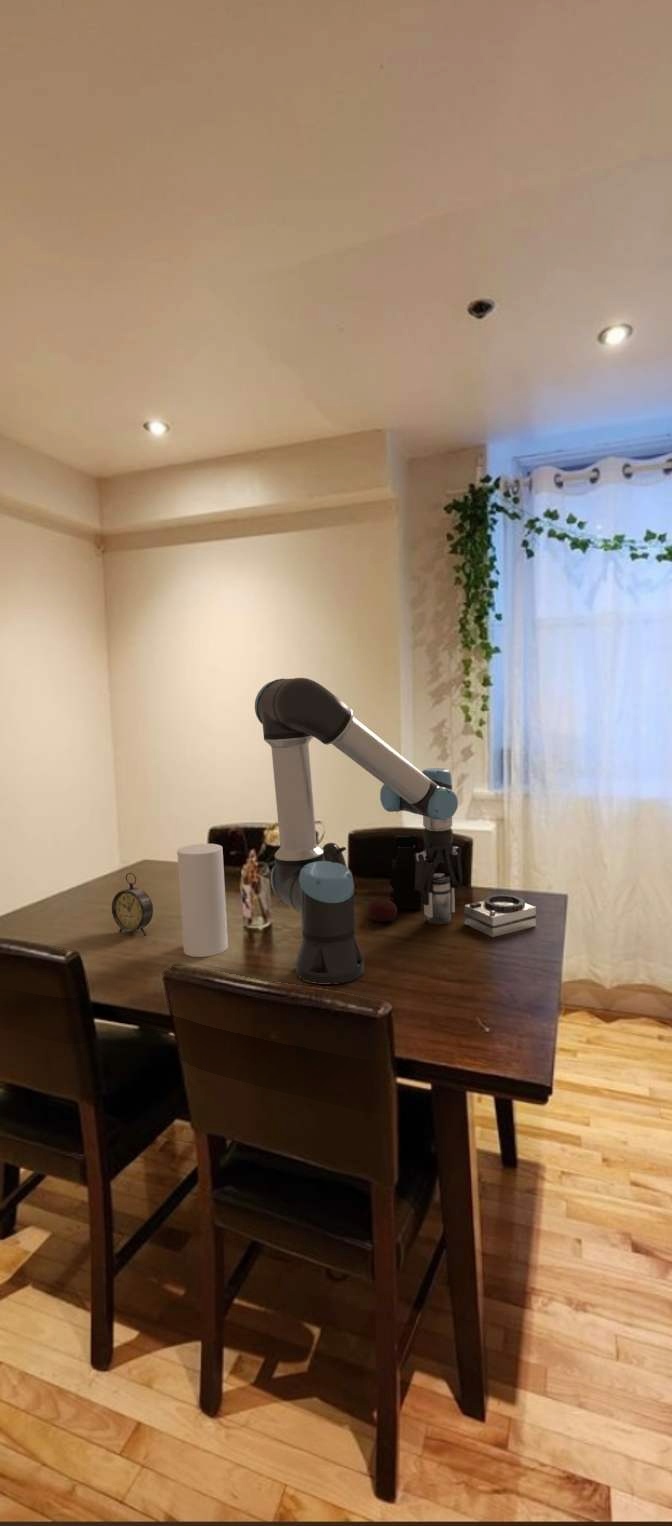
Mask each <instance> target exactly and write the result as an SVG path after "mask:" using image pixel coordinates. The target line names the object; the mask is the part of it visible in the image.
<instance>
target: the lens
mask: <svg viewBox="0 0 672 1526" xmlns="http://www.w3.org/2000/svg"><path fill="white" fill-rule="evenodd" d="M450 882H451V877H450V875H447V874H445V873H440V872H439V873H437V872H436V873H435V872H434V875H433V879H432V883H431V887H430V891H429V892H431V893H432V907H433V917H431V918H430V917H428V916H427V923H430V924H432V925H438V926H440V925H441V926H442V925H447V924H450V923H451V921H452V918H451V917H452V916H451V915H452V912H451V899H450V892H451V888H450Z"/></svg>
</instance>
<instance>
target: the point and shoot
mask: <svg viewBox="0 0 672 1526" xmlns="http://www.w3.org/2000/svg"><path fill="white" fill-rule="evenodd" d="M463 909H464V925H466V926H468V927H471V928H472V929H475V930H477V931H478V932H480V933H484V934H485V935H486V936H487V935H488V936H490V937H492V938H495V937H498V936H502V935H506V934H511V933H514V932H518V931H522V930H527V929H530V928H534V927H536V926H537V920H536V919H537V917H536V916H537V913H536V911H537V910H536V909H537V907H536V906H534V905H531V904H528V903H526V901H525V900H524V898H522V897H520V896H516V895H511V894H494V895H493V894H492V895H488V896H486V897H485V898H484V899H483V900H482V901H476V902H472V903H468V904H465V905H464V908H463Z"/></svg>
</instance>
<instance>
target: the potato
mask: <svg viewBox="0 0 672 1526" xmlns="http://www.w3.org/2000/svg"><path fill="white" fill-rule="evenodd" d="M397 914H398V909H397V907H396V905H395V904H394V901H392V900H389V899H386V898H376V899H374V900H373V901H372V900H371V902H370V903H369V905H368V908H367V915H368V917H369V918H370V919H371V920H373V921H375V922H379V923H388V922H390V921H393V920H394V919H395V918H396V916H397Z"/></svg>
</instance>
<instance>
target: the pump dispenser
mask: <svg viewBox="0 0 672 1526" xmlns="http://www.w3.org/2000/svg"><path fill="white" fill-rule="evenodd" d="M321 848H322V849H323V850H324V861H330V862H332V863H339V864H342V865H344V866H346V867H347V868H348V866H347V861H346V859H345V857H344V854H343V852H344V851H346V850H347V848H346V847H345V846H343V847H340V846H339V845H337V844H336V843H335V842H328V843H325V844H324V845H323V847H321Z"/></svg>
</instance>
